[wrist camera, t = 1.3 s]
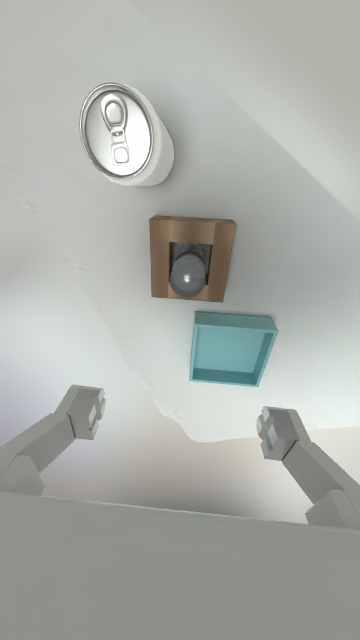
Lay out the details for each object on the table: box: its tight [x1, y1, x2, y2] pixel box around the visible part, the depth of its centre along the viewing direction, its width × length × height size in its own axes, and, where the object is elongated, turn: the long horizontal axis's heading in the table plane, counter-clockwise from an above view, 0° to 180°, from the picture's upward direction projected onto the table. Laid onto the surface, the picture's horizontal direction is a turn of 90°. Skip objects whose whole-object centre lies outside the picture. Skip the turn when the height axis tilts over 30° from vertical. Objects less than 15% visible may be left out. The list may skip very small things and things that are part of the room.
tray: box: [189, 312, 278, 387], centre depth 39 cm, size 13×13×4 cm
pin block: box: [149, 216, 236, 302], centre depth 31 cm, size 11×11×4 cm
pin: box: [170, 243, 205, 298], centre depth 28 cm, size 4×4×10 cm
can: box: [80, 83, 174, 186], centre depth 21 cm, size 6×6×12 cm
